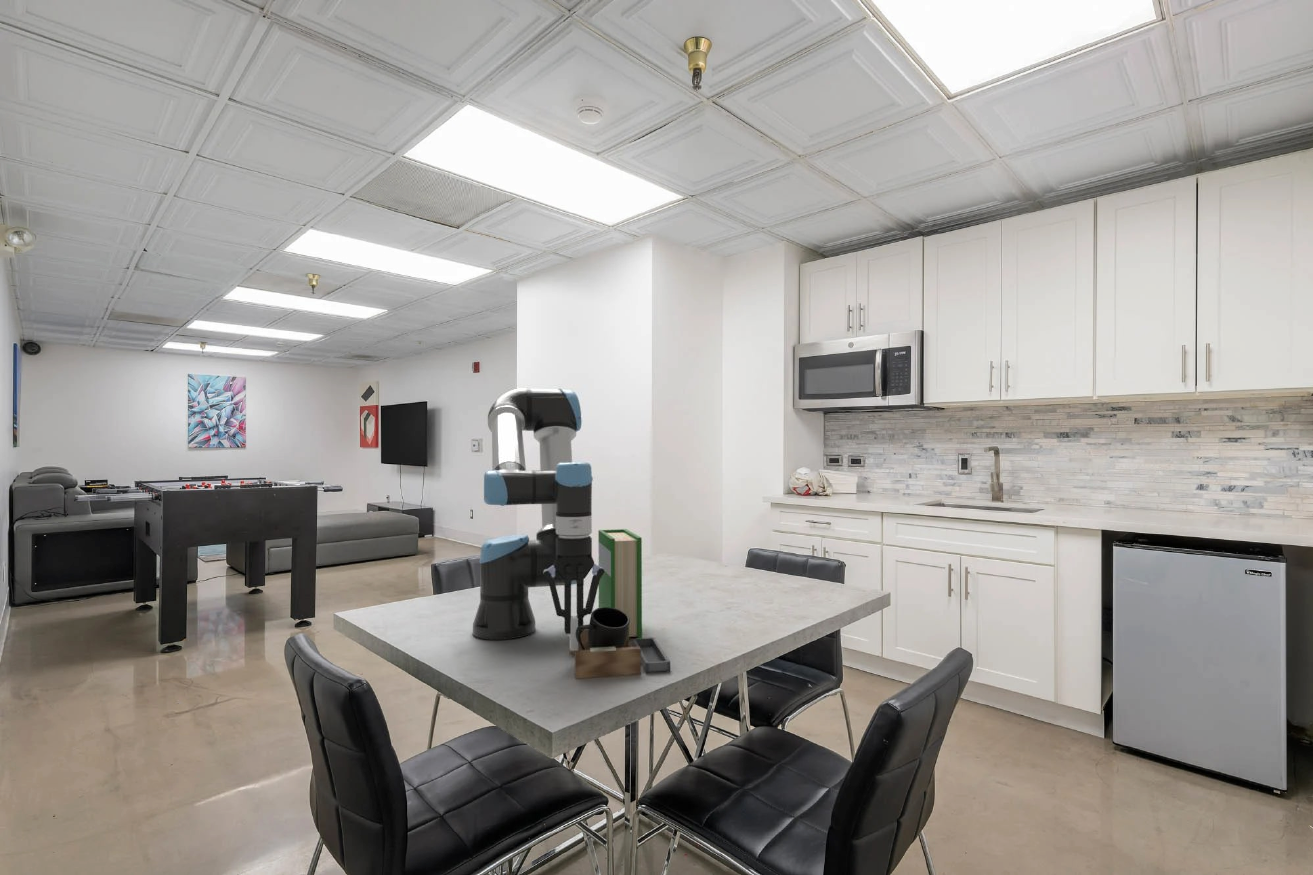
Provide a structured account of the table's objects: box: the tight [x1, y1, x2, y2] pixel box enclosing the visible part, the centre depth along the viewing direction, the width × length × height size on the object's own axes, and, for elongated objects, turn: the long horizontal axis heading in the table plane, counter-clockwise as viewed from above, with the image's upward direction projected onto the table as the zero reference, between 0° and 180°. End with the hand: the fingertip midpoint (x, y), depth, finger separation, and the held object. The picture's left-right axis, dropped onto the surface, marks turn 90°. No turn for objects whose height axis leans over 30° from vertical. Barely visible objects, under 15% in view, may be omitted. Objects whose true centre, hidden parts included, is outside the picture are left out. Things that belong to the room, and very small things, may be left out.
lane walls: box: [569, 628, 642, 680], centre depth 132 cm, size 13×17×5 cm
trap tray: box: [631, 637, 671, 674], centre depth 133 cm, size 5×17×2 cm, turn 11°
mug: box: [576, 607, 630, 650], centre depth 130 cm, size 8×12×10 cm
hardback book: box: [597, 528, 643, 639], centre depth 156 cm, size 18×7×24 cm, turn 15°
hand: (573, 648), depth 131 cm, fingers closed
